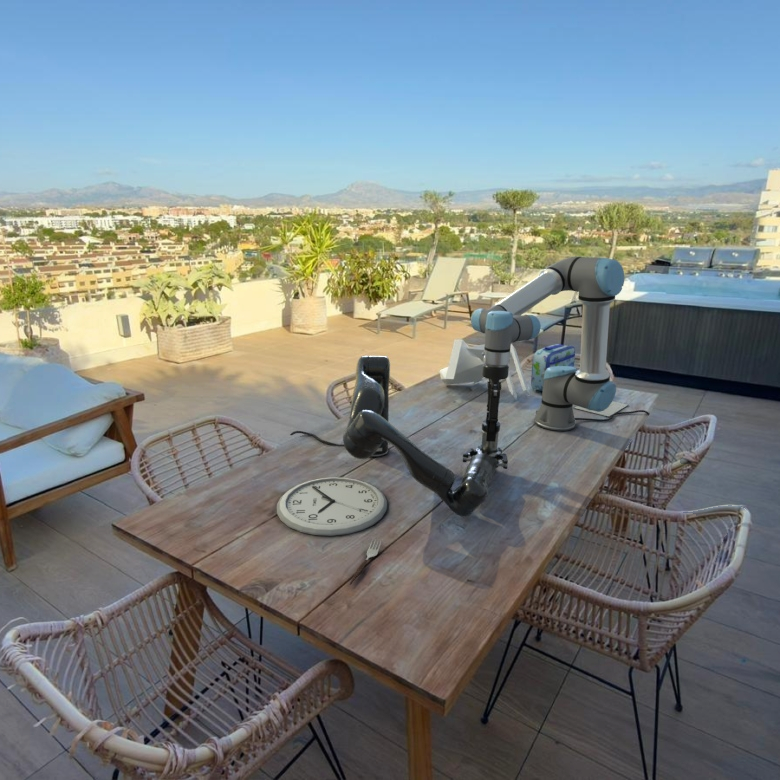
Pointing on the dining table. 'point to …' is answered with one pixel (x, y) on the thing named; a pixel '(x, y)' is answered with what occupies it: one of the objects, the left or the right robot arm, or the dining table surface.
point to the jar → (489, 444)
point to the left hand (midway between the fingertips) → (490, 449)
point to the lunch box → (550, 362)
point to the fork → (370, 554)
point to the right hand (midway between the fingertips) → (490, 436)
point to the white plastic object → (475, 366)
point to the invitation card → (609, 411)
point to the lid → (484, 426)
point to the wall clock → (331, 506)
